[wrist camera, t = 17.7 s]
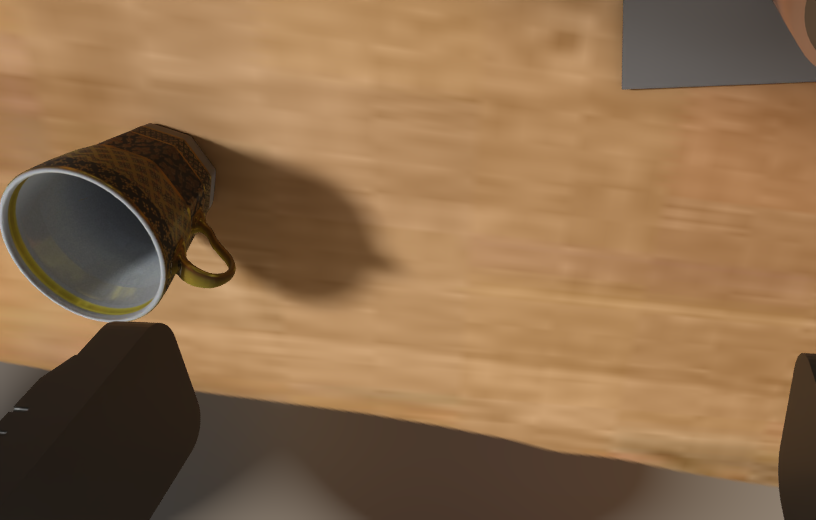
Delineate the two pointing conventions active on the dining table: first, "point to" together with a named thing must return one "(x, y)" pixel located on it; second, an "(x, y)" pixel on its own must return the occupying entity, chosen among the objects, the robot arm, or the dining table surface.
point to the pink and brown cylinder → (800, 23)
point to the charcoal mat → (708, 44)
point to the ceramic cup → (113, 223)
